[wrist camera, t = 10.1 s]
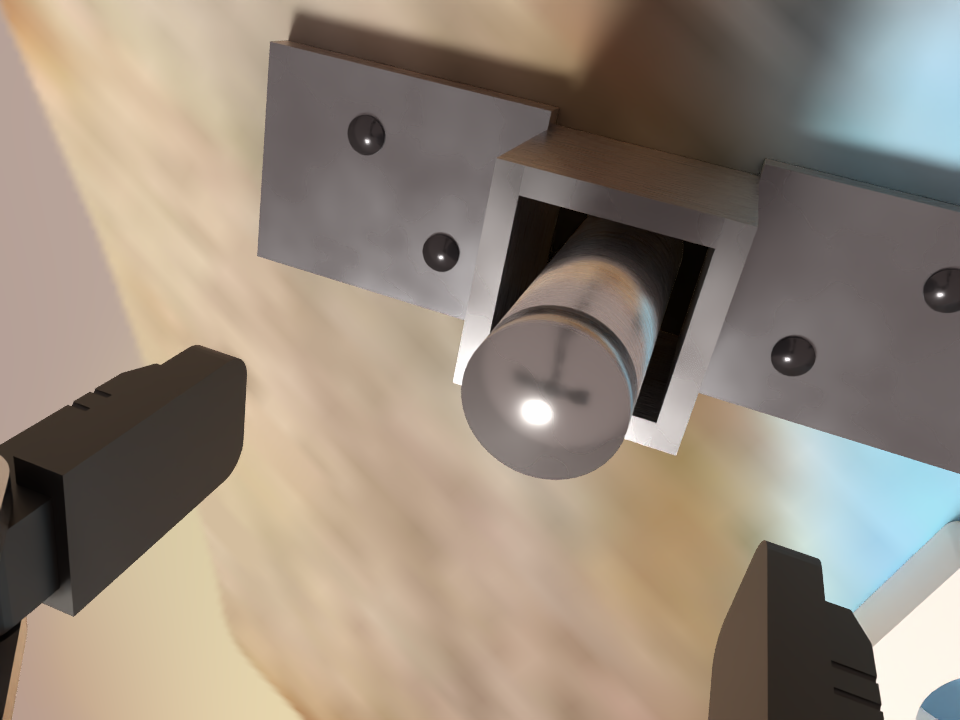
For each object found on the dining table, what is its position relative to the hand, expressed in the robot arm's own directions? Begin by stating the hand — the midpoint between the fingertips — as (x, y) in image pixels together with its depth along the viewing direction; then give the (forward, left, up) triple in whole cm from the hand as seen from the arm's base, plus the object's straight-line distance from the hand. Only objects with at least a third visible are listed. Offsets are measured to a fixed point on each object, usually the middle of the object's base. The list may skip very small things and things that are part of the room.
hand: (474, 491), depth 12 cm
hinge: (0, 0, -14) cm, 14 cm away
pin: (0, 0, -14) cm, 14 cm away
